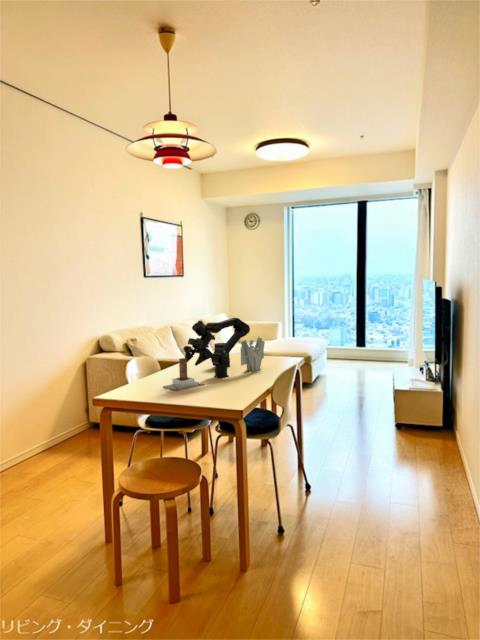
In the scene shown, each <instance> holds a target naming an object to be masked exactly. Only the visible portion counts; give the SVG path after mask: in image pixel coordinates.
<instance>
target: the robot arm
mask: <svg viewBox="0 0 480 640" xmlns="http://www.w3.org/2000/svg"><path fill="white" fill-rule="evenodd" d="M230 327H233V329H234V330H233V334H232V335H231V336H230V338H229V339H228V340H227V341H226V342H225V343H226V344H225V345H224V346H223V347H222V349H221V350H218V349H216V350H215V352H212V351H211V350H210V349H209V347H210V346H209V344H210V342H211V341H215V340H216V337H215V335H214V334H218V333H220V332H221V331H222V330H224V329H227V328H230ZM191 329H192V331H193V332H194V333H195V334H196V335H197V336H198V337H196V338H193V337H192V338H191V337H189V338H188V341H187V345H185V346H184V347H183V349H182V350H183V352H184V354H185V355H184V358H187V363H188V362H189V361H190V360H191V359H192V358H193V357H194V355H195V354H198V358H197V360H196V361H195V363H194V366H195V367H197V366H198V365H201V364H202V363H204V362H205V361H207V360H209V359H210V361H211V363H212V366H214V375H213V377H214V378H218V379H223V378H228V377H230V375H229V374H228V368H227V367H228V366H229V364H230V365H231V361H230V362H229V361H228V360H227V357H228V353H229V354H230V352H231V351H232V349H233V348H234V347H235V346H236V345H237V344H238V342H239V341H240V340H241V338H242V339H243V337H245V336H247V335H248V334H249V333H250V331H251V328H250V325H249V324H247V323H246V322H245V321H242V320H241V318H239V317H231V318H229V319H225V320H222V321H218V322H217V321H216V322H207V323H206V324H205V323H204V322H203V321H202V320H198V321H197V322H196V323H194V324H193V325H192V327H191Z"/></svg>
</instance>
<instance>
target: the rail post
mask: <svg viewBox="0 0 480 640" xmlns="http://www.w3.org/2000/svg"><path fill="white" fill-rule="evenodd" d="M178 364H179V365H178V366H179V377H180V380H187V377H188V362H187V358H185V357H182V358H179V359H178Z"/></svg>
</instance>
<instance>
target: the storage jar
mask: <svg viewBox="0 0 480 640" xmlns="http://www.w3.org/2000/svg"><path fill="white" fill-rule="evenodd" d="M226 343H227V342H217V343H213V344H214V349H213V350H214V352H215V350H216V349H218V350H221V349H222V347H223V346H224V345H225V344H226ZM214 352H213V353H214ZM227 360H228V361H229V362H230V364H229V366H228V367H229V368H230V367H231V358H230V352H229V353H228V357H227Z"/></svg>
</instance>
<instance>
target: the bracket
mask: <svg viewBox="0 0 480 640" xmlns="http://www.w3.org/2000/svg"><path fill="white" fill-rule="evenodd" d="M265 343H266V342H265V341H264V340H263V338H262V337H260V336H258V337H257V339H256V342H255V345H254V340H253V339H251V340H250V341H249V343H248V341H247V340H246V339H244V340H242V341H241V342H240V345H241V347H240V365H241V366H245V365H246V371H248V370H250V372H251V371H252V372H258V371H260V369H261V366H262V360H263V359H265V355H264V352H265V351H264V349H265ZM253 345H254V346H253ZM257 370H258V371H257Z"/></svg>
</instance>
